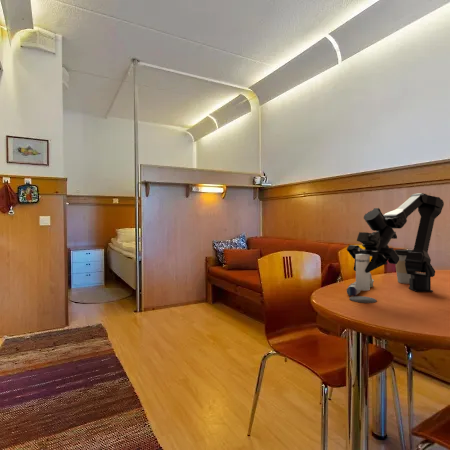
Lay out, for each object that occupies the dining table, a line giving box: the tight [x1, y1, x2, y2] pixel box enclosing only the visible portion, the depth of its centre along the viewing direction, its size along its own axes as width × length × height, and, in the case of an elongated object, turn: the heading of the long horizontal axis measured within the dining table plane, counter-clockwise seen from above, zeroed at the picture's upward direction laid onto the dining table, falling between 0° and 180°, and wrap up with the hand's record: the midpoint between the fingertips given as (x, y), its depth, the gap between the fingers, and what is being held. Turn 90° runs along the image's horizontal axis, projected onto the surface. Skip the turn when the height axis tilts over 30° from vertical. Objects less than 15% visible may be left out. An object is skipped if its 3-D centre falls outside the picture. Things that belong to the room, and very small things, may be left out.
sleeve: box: [355, 254, 371, 291], centre depth 111 cm, size 5×5×12 cm
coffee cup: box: [394, 249, 413, 284], centre depth 143 cm, size 9×9×15 cm
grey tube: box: [346, 272, 375, 297], centre depth 127 cm, size 5×7×25 cm
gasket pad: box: [348, 295, 378, 304], centre depth 111 cm, size 9×9×1 cm
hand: (360, 271), depth 111 cm, fingers closed on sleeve, 5 cm apart
